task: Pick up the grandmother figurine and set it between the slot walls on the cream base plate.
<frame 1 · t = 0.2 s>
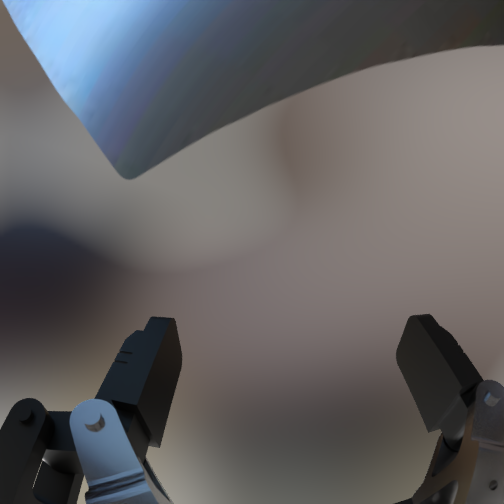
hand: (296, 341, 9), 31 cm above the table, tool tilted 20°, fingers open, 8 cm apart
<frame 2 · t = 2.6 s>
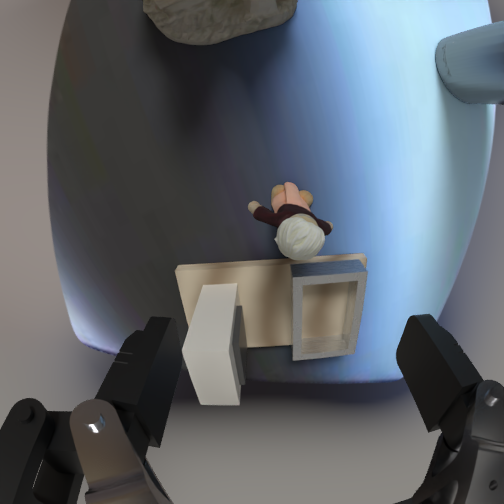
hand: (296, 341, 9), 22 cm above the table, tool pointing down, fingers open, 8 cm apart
grandmother figurine: (286, 197, 30), on the table
slot walls: (325, 313, 32), on the cream base plate, point 3 cm above the table
finger block: (222, 342, 29), on the cream base plate, point 7 cm above the table
cream base plate: (273, 302, 35), on the table
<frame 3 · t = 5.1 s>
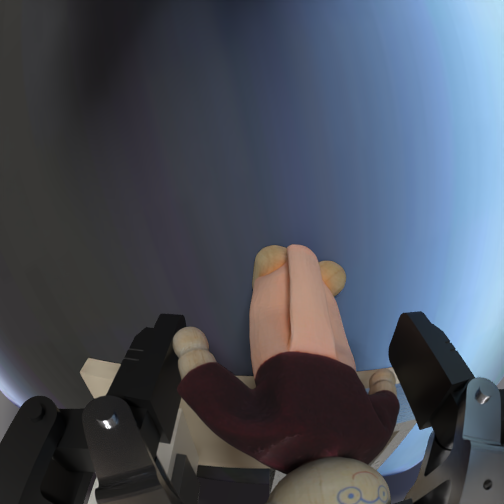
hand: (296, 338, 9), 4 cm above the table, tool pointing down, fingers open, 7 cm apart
grandmother figurine: (286, 273, 13), on the table, touching gripper
slot walls: (330, 453, 15), on the cream base plate, point 3 cm above the table
finger block: (155, 494, 12), on the cream base plate, point 7 cm above the table
cream base plate: (246, 424, 18), on the table
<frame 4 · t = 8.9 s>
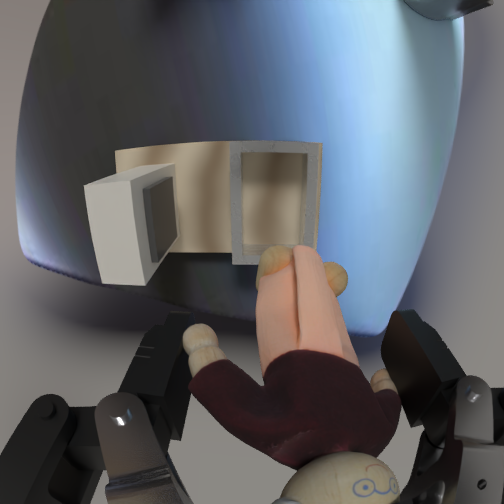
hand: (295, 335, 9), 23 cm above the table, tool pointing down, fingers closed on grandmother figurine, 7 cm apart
grandmother figurine: (290, 273, 13), point 18 cm above the table, touching gripper
slot walls: (273, 202, 27), on the cream base plate, point 2 cm above the table
finger block: (143, 215, 24), on the cream base plate, point 7 cm above the table
cream base plate: (216, 196, 30), on the table
when the fingers open (7 cm above the table, at t = 12.5 s): grandmother figurine drops 1 cm, resting on cream base plate.
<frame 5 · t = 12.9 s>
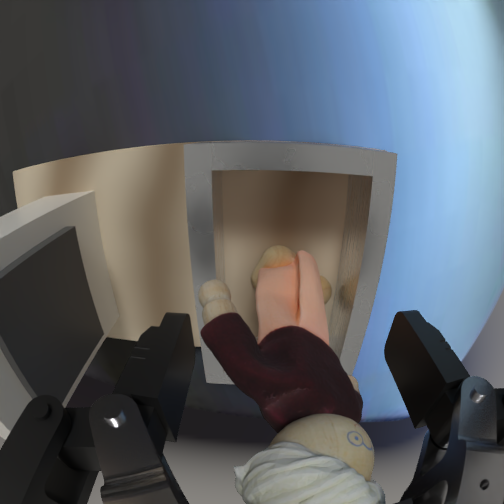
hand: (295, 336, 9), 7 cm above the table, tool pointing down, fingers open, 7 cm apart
grandmother figurine: (284, 274, 15), point 1 cm above the table, touching cream base plate
slot walls: (285, 275, 13), on the cream base plate, point 3 cm above the table
finger block: (29, 308, 10), on the cream base plate, point 7 cm above the table
cream base plate: (176, 249, 16), on the table
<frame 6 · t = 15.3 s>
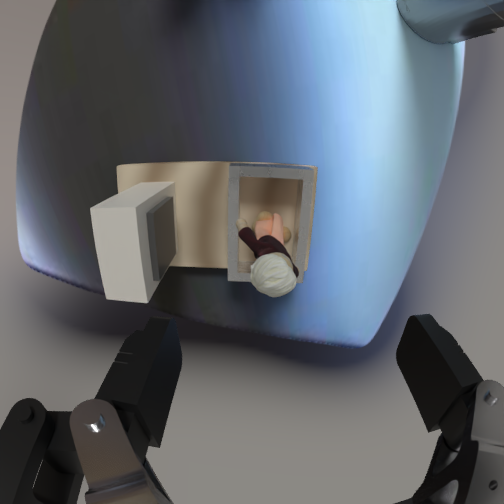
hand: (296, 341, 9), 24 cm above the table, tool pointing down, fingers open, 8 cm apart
grandmother figurine: (267, 225, 31), point 1 cm above the table, touching cream base plate
slot walls: (268, 223, 29), on the cream base plate, point 2 cm above the table
finger block: (145, 233, 25), on the cream base plate, point 7 cm above the table
cream base plate: (213, 214, 32), on the table
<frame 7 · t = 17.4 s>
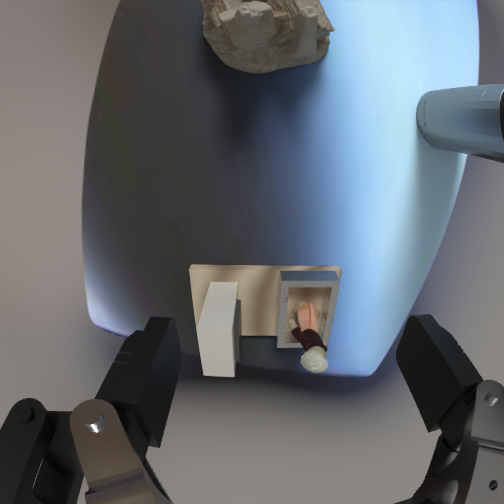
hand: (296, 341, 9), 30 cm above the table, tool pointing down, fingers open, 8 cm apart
grandmother figurine: (304, 308, 43), point 1 cm above the table, touching cream base plate
slot walls: (305, 311, 41), on the cream base plate, point 2 cm above the table
finger block: (223, 327, 37), on the cream base plate, point 7 cm above the table
beige jagged towered block: (264, 23, 28), on the table
cream base plate: (264, 300, 44), on the table
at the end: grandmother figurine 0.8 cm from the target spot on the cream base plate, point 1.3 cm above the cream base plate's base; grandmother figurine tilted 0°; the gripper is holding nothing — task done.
